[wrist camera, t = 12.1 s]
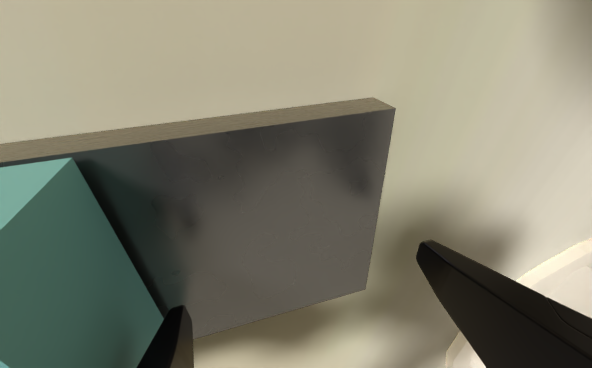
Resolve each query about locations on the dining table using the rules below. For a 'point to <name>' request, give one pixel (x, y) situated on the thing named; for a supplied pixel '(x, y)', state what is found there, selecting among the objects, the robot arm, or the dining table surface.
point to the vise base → (238, 204)
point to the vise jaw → (66, 276)
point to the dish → (549, 282)
